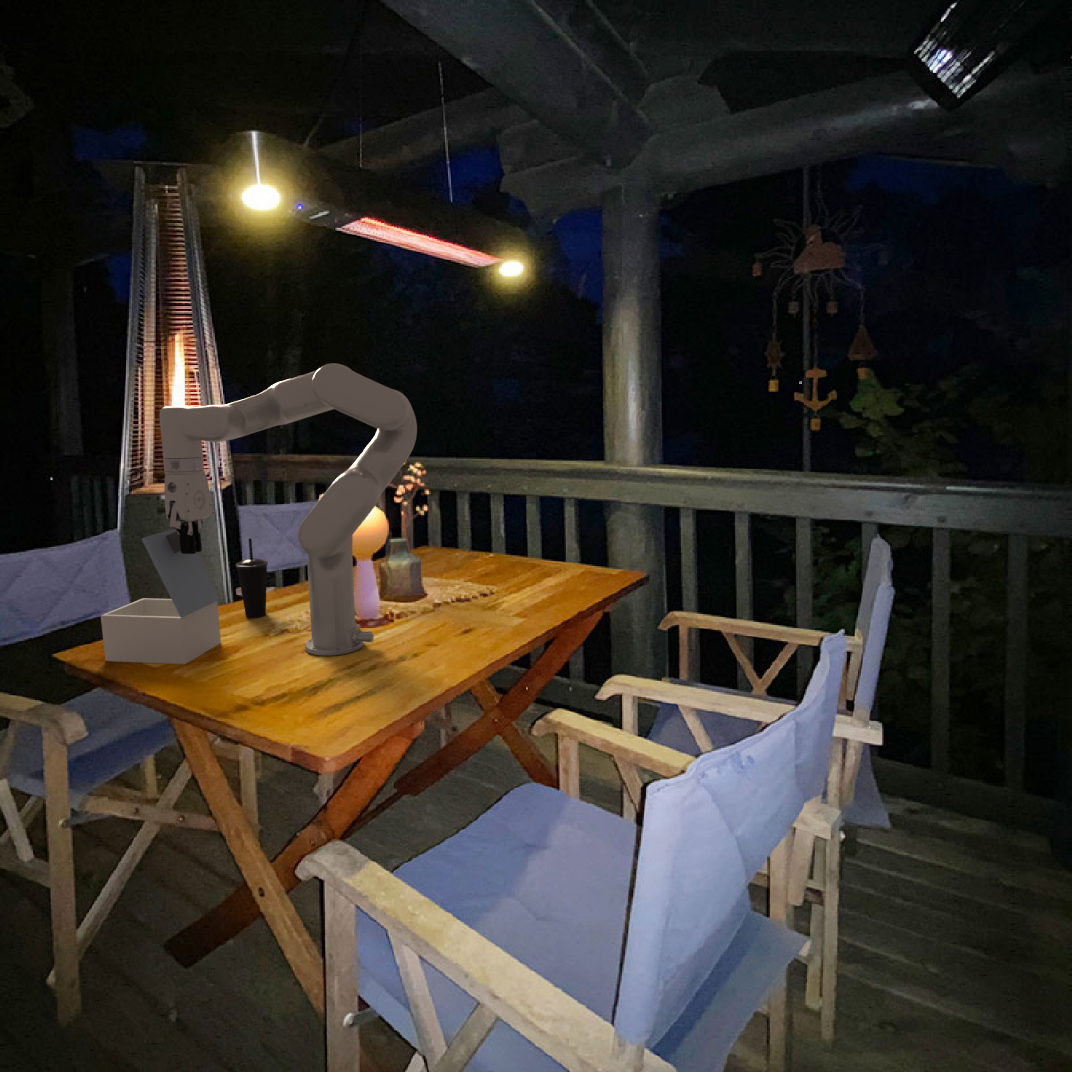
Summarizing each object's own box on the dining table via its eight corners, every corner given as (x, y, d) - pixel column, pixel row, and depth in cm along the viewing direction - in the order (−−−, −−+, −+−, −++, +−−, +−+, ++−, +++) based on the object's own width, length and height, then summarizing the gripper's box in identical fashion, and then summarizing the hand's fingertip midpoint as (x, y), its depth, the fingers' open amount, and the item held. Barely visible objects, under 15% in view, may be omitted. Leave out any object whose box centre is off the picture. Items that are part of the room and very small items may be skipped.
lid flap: (217, 600, 168) (239, 591, 167) (180, 618, 155) (204, 608, 154) (181, 527, 166) (203, 517, 165) (141, 538, 153) (164, 528, 152)
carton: (220, 642, 170) (217, 600, 168) (185, 664, 157) (180, 618, 155) (147, 640, 172) (143, 598, 171) (105, 661, 159) (100, 615, 157)
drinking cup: (238, 620, 187) (231, 542, 184) (241, 612, 195) (235, 536, 191) (270, 618, 189) (264, 540, 186) (272, 610, 197) (267, 535, 193)
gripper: (178, 469, 148) (186, 560, 151) (221, 463, 163) (227, 546, 167) (143, 469, 149) (152, 559, 152) (188, 462, 164) (195, 545, 167)
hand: (191, 552), depth 159 cm, fingers closed
